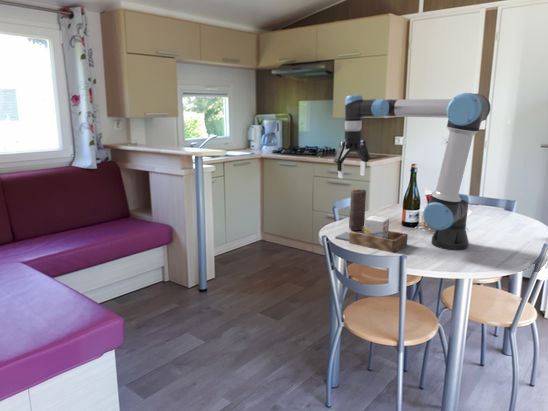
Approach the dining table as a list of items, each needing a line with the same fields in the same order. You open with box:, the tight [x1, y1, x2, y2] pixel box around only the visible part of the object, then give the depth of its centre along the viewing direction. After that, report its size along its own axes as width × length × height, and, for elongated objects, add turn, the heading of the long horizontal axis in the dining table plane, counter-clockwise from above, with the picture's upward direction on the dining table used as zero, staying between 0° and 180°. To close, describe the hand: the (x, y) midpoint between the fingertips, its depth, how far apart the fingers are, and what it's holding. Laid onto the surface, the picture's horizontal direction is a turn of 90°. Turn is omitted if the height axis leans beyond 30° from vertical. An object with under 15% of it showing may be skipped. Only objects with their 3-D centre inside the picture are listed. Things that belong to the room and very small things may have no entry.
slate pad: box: [334, 231, 350, 242], centre depth 204 cm, size 8×10×1 cm
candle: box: [348, 189, 367, 231], centre depth 214 cm, size 8×7×20 cm
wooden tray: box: [348, 225, 409, 254], centre depth 195 cm, size 21×13×5 cm, turn 52°
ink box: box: [364, 215, 390, 239], centre depth 194 cm, size 9×8×12 cm
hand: (352, 176), depth 205 cm, fingers open, 13 cm apart
